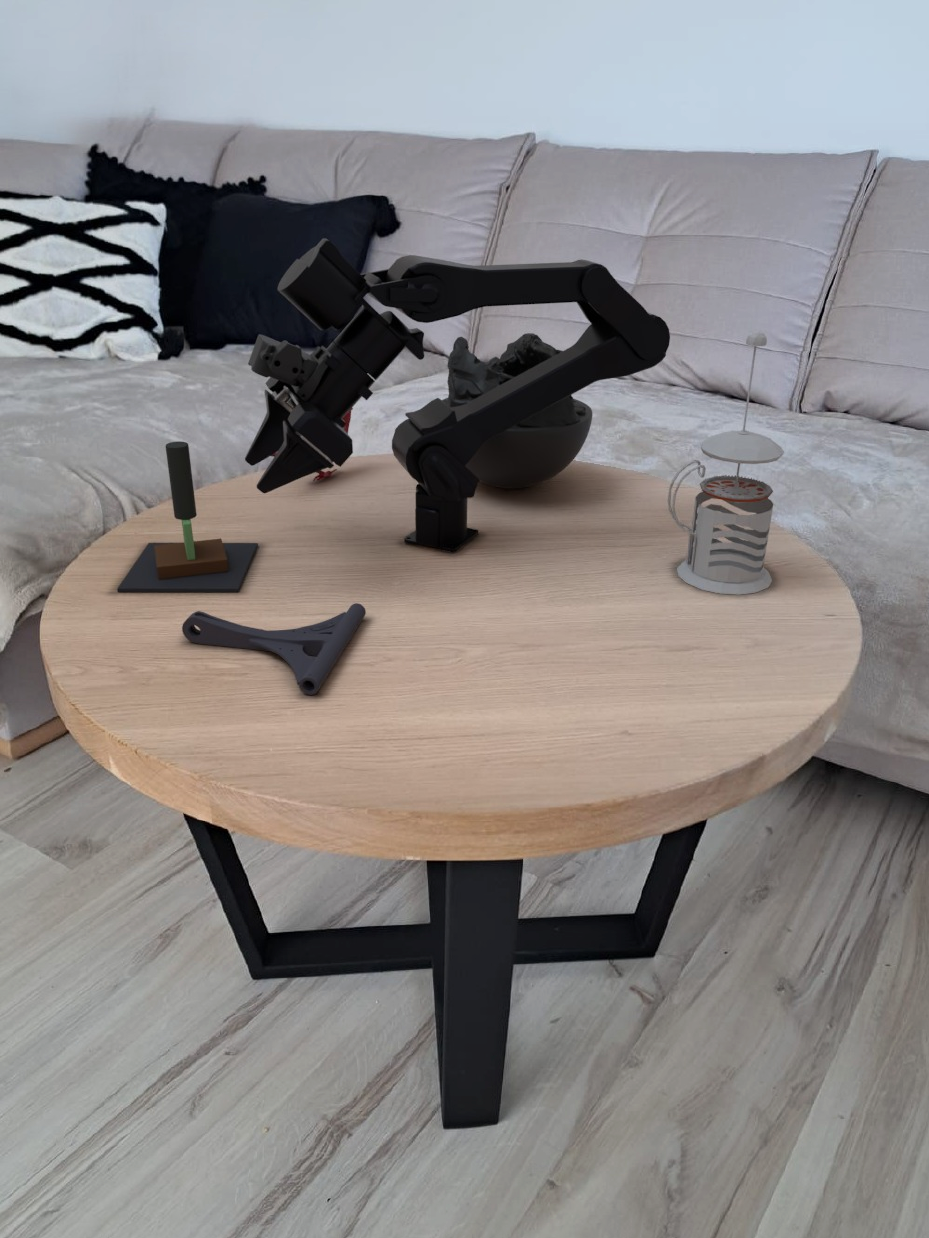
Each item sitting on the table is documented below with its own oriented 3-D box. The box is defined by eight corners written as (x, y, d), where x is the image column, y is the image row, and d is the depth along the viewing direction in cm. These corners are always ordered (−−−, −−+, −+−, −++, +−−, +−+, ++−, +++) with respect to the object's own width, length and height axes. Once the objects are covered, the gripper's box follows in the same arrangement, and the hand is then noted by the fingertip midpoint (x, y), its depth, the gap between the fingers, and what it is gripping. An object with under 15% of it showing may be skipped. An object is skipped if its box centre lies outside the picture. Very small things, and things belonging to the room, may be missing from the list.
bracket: (218, 605, 97) (215, 579, 96) (366, 619, 94) (365, 592, 93) (150, 679, 84) (146, 650, 83) (319, 697, 82) (317, 668, 81)
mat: (149, 546, 110) (148, 542, 110) (258, 546, 110) (257, 542, 110) (117, 592, 99) (116, 588, 99) (238, 592, 100) (237, 588, 99)
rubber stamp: (222, 550, 108) (209, 433, 102) (228, 571, 103) (215, 450, 97) (155, 557, 106) (139, 438, 100) (158, 579, 101) (141, 456, 95)
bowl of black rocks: (606, 473, 134) (617, 330, 126) (557, 521, 118) (566, 361, 110) (471, 453, 142) (473, 317, 133) (407, 496, 125) (404, 344, 117)
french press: (786, 593, 101) (829, 342, 89) (674, 596, 100) (704, 343, 88) (753, 555, 109) (788, 321, 98) (649, 557, 108) (673, 322, 97)
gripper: (279, 291, 104) (183, 403, 106) (311, 323, 89) (198, 453, 91) (356, 362, 110) (264, 467, 112) (399, 404, 94) (291, 525, 96)
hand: (253, 476), depth 103 cm, fingers open, 9 cm apart
